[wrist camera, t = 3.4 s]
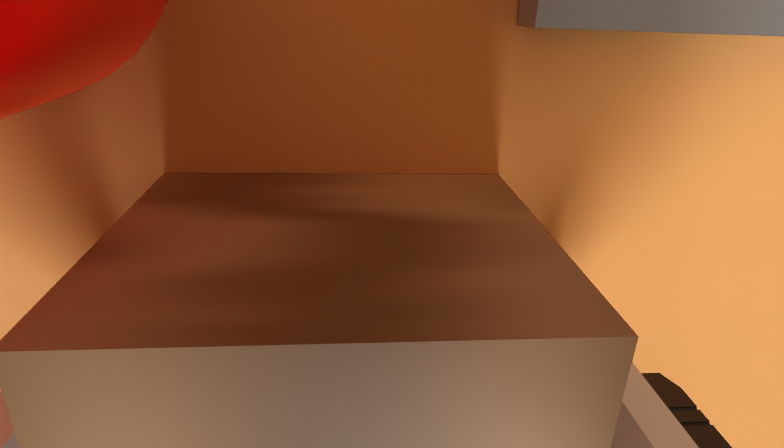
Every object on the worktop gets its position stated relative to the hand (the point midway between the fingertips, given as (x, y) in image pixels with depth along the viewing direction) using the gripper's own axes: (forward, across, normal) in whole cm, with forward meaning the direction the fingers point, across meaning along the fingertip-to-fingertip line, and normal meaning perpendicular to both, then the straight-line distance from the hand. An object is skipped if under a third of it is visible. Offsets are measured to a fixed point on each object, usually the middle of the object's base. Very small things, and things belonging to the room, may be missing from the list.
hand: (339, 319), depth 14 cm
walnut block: (0, 0, 0) cm, 0 cm away
